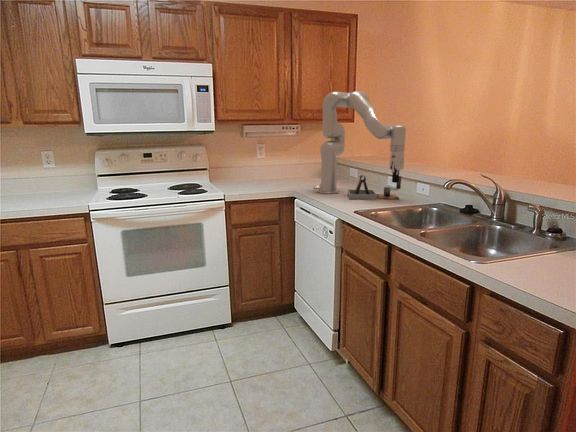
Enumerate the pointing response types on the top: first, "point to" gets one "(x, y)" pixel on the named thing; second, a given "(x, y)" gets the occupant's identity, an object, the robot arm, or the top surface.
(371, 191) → the tray
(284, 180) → the top surface
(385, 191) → the crank
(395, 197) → the crank base
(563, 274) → the top surface
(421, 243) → the top surface
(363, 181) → the door stopper
